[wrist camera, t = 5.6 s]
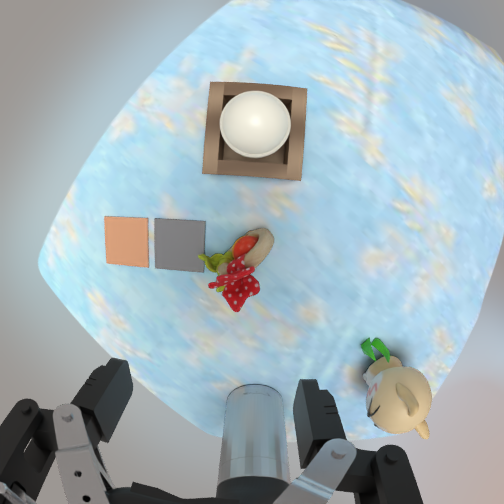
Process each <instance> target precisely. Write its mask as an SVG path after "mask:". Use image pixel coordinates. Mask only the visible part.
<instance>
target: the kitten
mask: <svg viewBox="0 0 504 504" xmlns="http://www.w3.org/2000/svg"><path fill="white" fill-rule="evenodd" d="M371 345H372V346H374V347H375V348H376V349H377V350H378V351H380V352H381V353H382V354H383V355H384V357H382V358H380V359H378V360H377V361H376V359H375V356H374V353H373V350H372V347H371ZM361 347H362V350H363V352H364V354H366V355H368V356H369V357H370V358H372V359H373V360H374V361H375V362H374V363H373V364H371V365H370V367H369V368H368V370H367V372H366V373H364V374H363V379H364V380H365V381H366V383H367V385H368V386H369V388H368V392H367V397H366V408H367V412H368V413H367V416H368V417H370V418H371V419H372V421H373V422H374V423H375V424H374V425H375V426H377V427H378V428H380V429H382V430H383V431H385V432H388V433H392V434H402V433H406V432H409V431H411V430H413V429H415V430H416V431H417V432H418V433H419V434H420V436H421V437H422V438H423V439H428V438H429V429H428V425H427V423H426V421H425V420H424V419H425V418H426V416H427V415H428V413H429V410H430V407H431V402H432V395H431V389H430V386H429V383H428V381H427V379H426V378H425V376H424V375H423V374H422V373H421V372H420V371H418V370H417V369H415V368H412V367H403V366H402V363H401V361H400V360H399V359H398V358H397V357H394V356H390V353H389V350H388V349H387V347H386V346H385V345H384V344H383V343H382V342H381V340H380V339H378V338H375V339H374V340H373V342H372V343H371V342H370V338H368V339H367V340H366V341H365V342H364V343H363V344H361Z"/></svg>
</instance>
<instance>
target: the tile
mask: <svg viewBox="0 0 504 504" xmlns="http://www.w3.org/2000/svg"><path fill="white" fill-rule="evenodd" d="M104 223H105V245H106V260H107V263H109V264H118V265H128V266H138V267H149V249H148V218H135V217H109V216H105V217H104Z"/></svg>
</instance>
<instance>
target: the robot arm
mask: <svg viewBox="0 0 504 504" xmlns="http://www.w3.org/2000/svg"><path fill="white" fill-rule="evenodd" d="M132 391H133V383H132V379H131V374H130V369H129V365H128V362H127V361H126V360H122V359H117V358H111V359H110V360H109V362H108V363H107V364H106V366H103V365H102V366H100V367H98V368H97V369H95V370H94V371H93V372H92V373H91V375H90V376H89V379H87V380H86V382H85V384H84V385H83V386H82V387H81V389H80V390H79V392H78V393H77V395H76V396H75V397H74V399H73V401H72V402H71V403H70V404H62V405H60V406H58V407H57V408H56V409H55V410H48V409H40V408H39V406H38V404H37V403H36V402H35V401H34V400H32V399H23V400H20V401H18V402H17V403H16V405H15V406H14V407H13V409H12V410H11V411H10V413H9V414H8V416H7V417H6V418H5V420H4V421H3V423H2V424H1V426H0V504H36V499H37V497H38V494H39V492H40V490H41V487H42V485H43V483H44V481H45V479H46V476H47V474H48V472H49V470H50V467H51V466H52V463H53V461H54V459H55V457H56V459H57V464H58V469H59V473H60V476H61V480H62V484H63V487H64V491H65V494H66V498H67V501H68V504H326V503H327V502H328V500H329V499H330V498H331V496H332V494H333V492H334V491H335V490H336V491H344V492H353V493H354V498H355V504H423V501H422V498H421V495H420V492H419V489H418V486H417V483H416V480H415V477H414V474H413V471H412V468H411V466H410V463H409V460H408V457H407V454H406V453H405V451H404V450H403V449H402V448H401V447H399V446H396V445H385V446H383V447H381V448H380V449H379V450H378V451H377V452H376V451H367V450H360V449H357V448H355V446H354V445H353V444H352V443H351V442H349V441H347V439H346V436H345V433H344V430H343V426H342V423H341V420H340V416H339V414H338V410H337V407H336V403H335V400H334V397H333V396H332V395H331V394H330V393H329V392H328V390H319V386H318V383H317V380H316V379H300V380H299V383H298V387H297V391H296V395H295V400H294V405H293V415H294V422H295V429H296V436H297V444H298V451H299V459H300V467H301V469H305V468H306V469H305V470H304V472H303V473H302V474H301V475H300V476H299V477H298V478H296V479H295V480H294V481H293V482H292V483H290V472H289V462H288V451H287V441H286V431H285V422H284V411H283V403H282V398H281V396H280V394H279V393H278V392H277V391H275V390H274V389H272V388H270V387H267V386H264V385H246V386H242V387H239V388H237V389H235V390H234V391H233V392H231V393H230V395H229V396H228V399H227V404H226V413H225V421H224V429H223V438H222V448H221V456H220V465H219V475H218V485H217V493H216V498H213V497H211V498H196V499H182V498H179V497H177V496H174V495H172V494H170V493H167V492H165V491H162V490H160V489H158V488H155V487H151V486H147V485H143V484H139V483H135V482H133V483H132V486H131V487H121V488H116V487H115V486H114V484H113V482H112V480H111V478H110V476H109V474H108V471H107V469H106V466H105V463H104V461H103V458H102V456H101V452H100V450H99V447H98V444H99V442H100V440H101V441H104V442H107V443H108V442H109V440H110V438H111V436H112V434H113V432H114V430H115V428H116V426H117V424H118V421H119V419H120V417H121V415H122V413H123V411H124V409H125V407H126V405H127V403H128V401H129V399H130V397H131V395H132ZM30 439H32V440H31V441H30ZM29 441H30V443H29ZM28 443H29V445H28V447H27V448H26V446H27V444H28ZM25 448H26V450H25V452H24V449H25Z"/></svg>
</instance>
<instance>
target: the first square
mask: <svg viewBox="0 0 504 504" xmlns="http://www.w3.org/2000/svg"><path fill="white" fill-rule="evenodd" d="M204 247H205V221H194V220H177V219H157V218H155V268H158V269H169V270H180V271H191V272H204V261H203V260H201V259H199V258H198V255H200V254H204Z"/></svg>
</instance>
